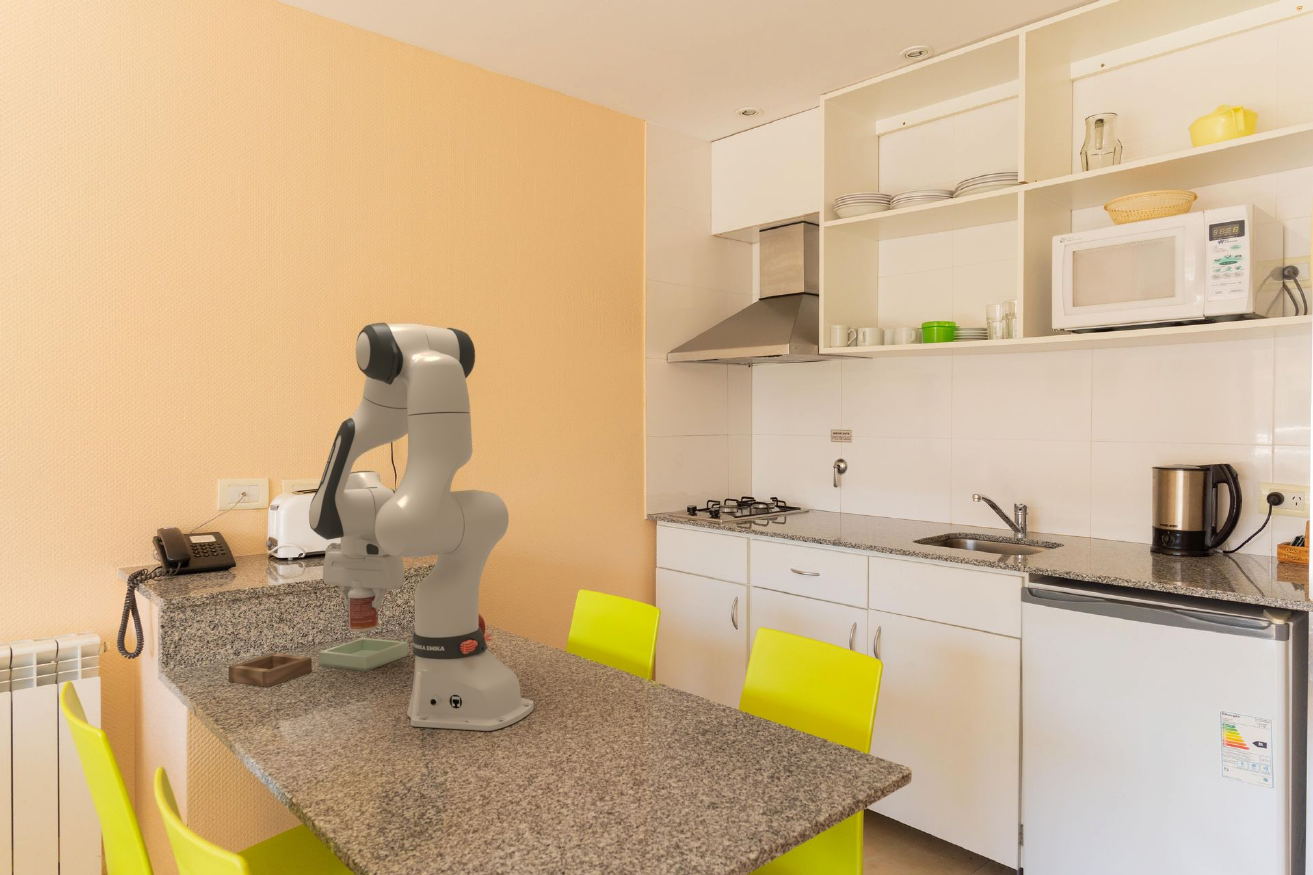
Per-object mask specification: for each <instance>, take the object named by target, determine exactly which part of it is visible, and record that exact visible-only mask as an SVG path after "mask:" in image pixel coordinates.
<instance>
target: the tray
mask: <svg viewBox="0 0 1313 875" xmlns="http://www.w3.org/2000/svg"><path fill="white" fill-rule="evenodd" d="M408 643H409V642H407V641H401V640H400V641H398V640H389V639H378V638H369V637H360V638H357V639H355V640H351V641H349V642H345V643H342V644H340V645H336V646H334V647H333V646H332V647H330V648H328V649H324V650H321V651H319V652H318V655H319V656H318V659H319V662H318V663H319V665H318V666H319V667H327V668H332V669H334V668H335V669H341V670H349V671H356V672H369V671H371V670H374V669H378V668H379V667H382V666H384V665H387V664H390V663H392V662H395V661H398V660H400V659H404V658H405V657H408V656H409V650H408V649H409V648H408V647H409V646H408V645H409V644H408Z"/></svg>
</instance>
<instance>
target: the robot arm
mask: <svg viewBox="0 0 1313 875" xmlns="http://www.w3.org/2000/svg"><path fill="white" fill-rule="evenodd" d="M355 357H356V358H355V359H356V363H357V367H358V369H359V370H360V371H361V372H362V374H364V375H365V381H364V387H363V392H362V393H363V394H362V398H361V401H360V403H359V405H358V407H357V409H356V410H355V412H354V413H353V414H352V415H351V416H350V417H349V418H347V419H345V420H343V421H342V422H341V423H340V424H341V425H340V426H339V428H338V430H337V433H336V435H335V438H334V441H333V443H332V446H331V449H330V452H329V455H328V458H327V461H326V464H325V466H324V467H325V468H324V470H323V473H322V476H321V480H320V482H319V485H318V487H317V490H316V492H315V494H314V495H313V498H312V499H311V502H310V505H309V506H310V507H309V511H308V521H309V522H308V523H309V525H310V526H309V528H310V529H311V530H312V531H313V532H314V533H315V534H316V535H318V536H320V537H321V538H322V539H325V540H327V541H329V540H335V539H339V538H340V543H336V542H331V543H330V544H329V545H327V546H326V548H325V552H324V553H325V556H324V559H323V568H322V581H323V583H324V584H325V585H329V586H339V591H340V594H341V596H342V598H343V599H344V600H343V601H344V602H343V604H344V606H345V607H348V593H349V591H350V590H352V588H353V587H352V585H351V584H352V580H355V581H361V584H362V587H363V588H374V593H377V594H376V596H375V599H374V600H372V601H371V608H373V609H378V610H379V609H381V608H382V606H383V602H382V600H383V599H384V596H385V595H386V593H387V590H388V591H389V590H390V591H393V590H396V589H400V588H401V587H402V586H403V584H404V582H405V566H404V559H403V558H411V559H413V558H415V559H416V558H417V559H419V558H424V557H430V556H437V559H436V562H435V564H434V566H433V568H432V570H431V571H430V572H429V574H428V575H426V577H424V578H423V579H422V580H420V582H419V583H418V584H417V586H416V588H415V591H414V632H413V633H412V653H413V655H414V671H413V673H414V674H413V679H412V680H413V682H412V689H411V695H410V698H409V703H408V707H407V711H406V714H407V716H408V717H409V718H410V723H409V724H410V726H411V727H415V728H417V727H419V728H420V727H421V728H434V729H436V728H437V729H449V730H450V729H455V730H466V731H467V730H469V731H483V732H484V731H487V732H490V731H496V730H498V729H502V728H506V727H508V726H510V725H513V724H515V723H517V722H519V721H520V720H523V719H524V718H525V717H527V716H529V714H530V713H532V712H533V711H534V708H535V705H534V700H532V699H530V698H524V697H522V694H521V692H522V691H521V687H520V682H519V678H518V676H517V674H516V673H515V672H514V671H513V670H512V669H511V668H509V667H508V666H507V665H505V663H503V662H502V661H501V660H500V659H499V658H497V656H495V655H494V654H493V653H492V652H491V651H490V650H488V645H487V642H490V641H491V640H493V639H492V638H490V637H491V636H492V635H493V634H492V633H489V634H485V636H483V633H482V631H481V628H480V627H479V626H478V613H479V598H480V597H479V596H480V583H481V578H482V575H483V570H484V568H485V565H486V563H487V562H488V559H489V556H490V554H491V552H492V551H493V549H494V548H495V546H496V545H497V544H498V542H500V541H501V540H502V539H503V537H504V536H505V534H506V533H507V530H508V527H509V522H510V521H509V518H510V517H509V516H510V515H509V511H508V507H507V504H506V503H505V501H504V500H503V498H502V497H501V496H500V495H498V494H497V493H494V492H489V491H483V490H477V489H465V490H454V491H453V490H452V491H451V487H452V482H453V480H454V477H455V475H456V473H457V472H458V470H460V469H461V468H462V467H464V466H465V465H466V464H467V463H468V462H469V461H470V460H471V458H472V455H473V438H472V437H473V434H472V420H471V419H472V418H471V406H470V405H471V403H470V396H469V395H470V394H469V389H468V384H467V378H468V377H469V376H470V374H471V373H472V371H473V369H474V367H475V363H476V350H475V344H474V342H473V340H472V339H471V337H470V335H469V334H468V333H467V332H465V331H463V330H461V329H457V328H453V327H447V328H445V327H439V326H434V325H433V326H432V325H426V324H425V325H424V324H420V323H413V322H412V323H410V322H409V323H402V322H400V323H399V322H398V323H386V322H377V323H376V322H375V323H371V324H366V325H365V326H363V328H362V329H361V330H360V331H359V333H358V335H357V339H356V344H355ZM406 435H407V459H406V466H405V470H404V473H403V477H402V478H401V481H400V483H399V485H398V486H397V488H396V490H394V489H392V488H389V487H387V486H386V485H384V484H383V483H382V481H381V476H380V474H379V472H376V471H374V470H358V471H352V469H353V466H354V464H355V462H356V461H357V459H359V458H360V457H361V456H362V455H364V454H365V453H367V452H370V451H371V450H373V449H375V448H378V447H381V446H384V445H386V444H391V443H393V442H396V441H398V440H400V439H402V438H403V437H405V436H406Z"/></svg>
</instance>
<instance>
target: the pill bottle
mask: <svg viewBox="0 0 1313 875" xmlns="http://www.w3.org/2000/svg"><path fill="white" fill-rule="evenodd" d="M351 585H352V587H351V589H350V591H349V593H348V606H347V613H348V615H347V616H348V620H347V621H348V630H349V631H350V632H356V633H364V632H369V631H374V630H377V628H378V627H379V609H373V608H371V601H372V600H374V599H375V596H376V594H377V593H374V588H363V587H362V584H361V581H355V580H352V584H351Z"/></svg>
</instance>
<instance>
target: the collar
mask: <svg viewBox="0 0 1313 875" xmlns="http://www.w3.org/2000/svg"><path fill="white" fill-rule="evenodd" d="M312 660H313V659H312V657H311V656H310V657H307V656H299V655H291V654H284V653H274V652H272V653H269V654H266V655H263V656H260V657H257V658H252V659H251V660H247V661H243V662H241V663H237V664H234V665H230V666H228V682H229V683H234V682H235V683H236V684H240V685H241V684H242V685H250V686H257V687H262V686H264V687H263V688H271V687H274V686H276V685H279V684H282V683H285V682H288V681H290V679H291V680H292V679H296V678H298V677H301V676H300V675H302V676H304V674H305V675H307V674H310V673H312V672H313V666H312V663H313V662H312ZM306 673H307V674H306ZM287 680H288V681H287ZM281 682H282V683H281ZM275 684H276V685H275ZM270 686H271V687H270Z"/></svg>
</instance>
